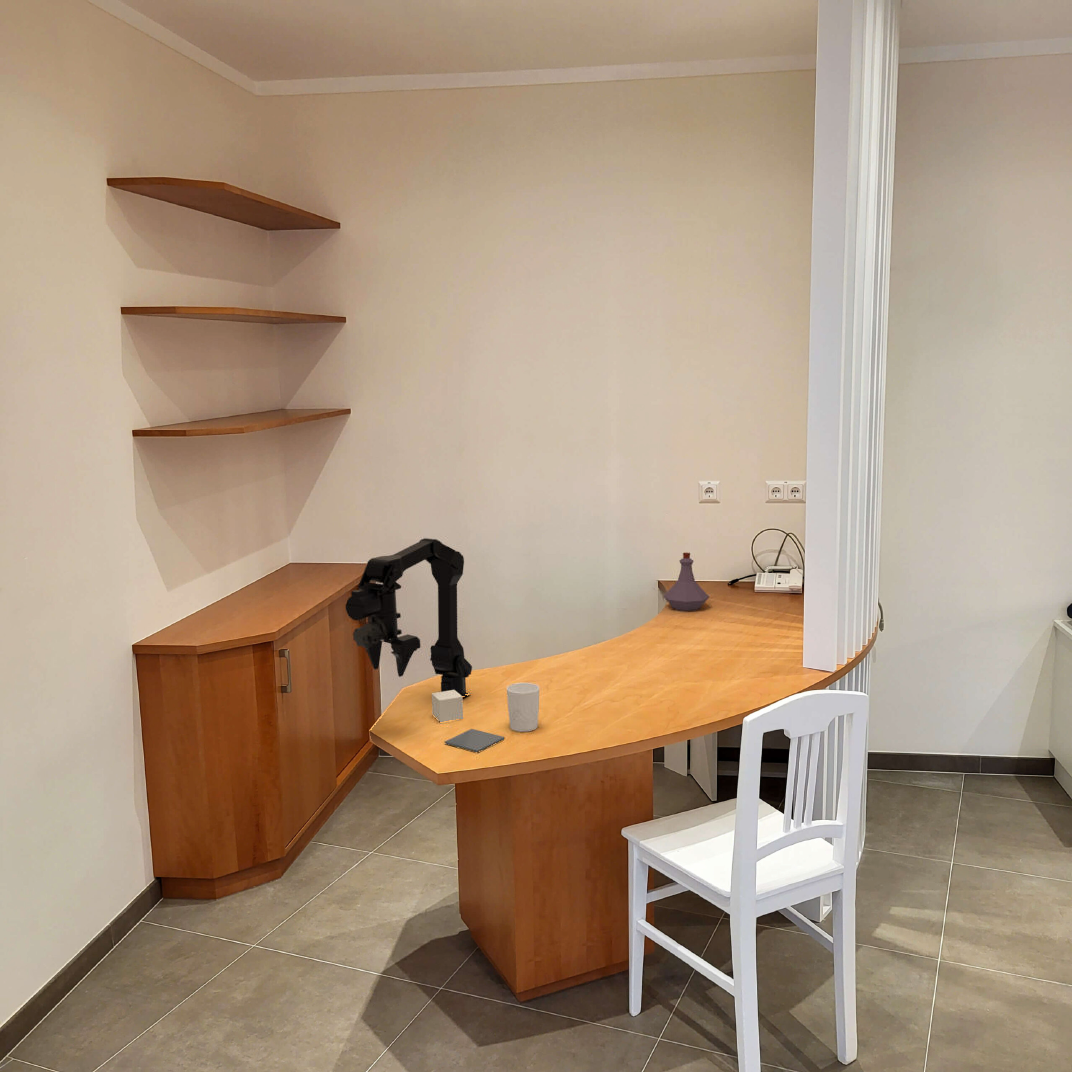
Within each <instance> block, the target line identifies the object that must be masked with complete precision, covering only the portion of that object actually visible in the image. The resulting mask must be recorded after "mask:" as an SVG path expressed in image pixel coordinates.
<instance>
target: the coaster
mask: <svg viewBox="0 0 1072 1072" xmlns="http://www.w3.org/2000/svg"><path fill="white" fill-rule="evenodd" d="M504 739H506V738H505V736H502V735H499V734H494V733H490V732H487V731H482V730H479V729H478V730H477V729H474V728H470V729H468V730H466V731H464V732H462V733H460V734H457V735H455V736H454V737H451V738H449V739H447V740H444V743H446V744H449V745H453V746H456V747H455V748H457V747H459V748H458V749H460V748H464V749H467V750H466V751H468V750H471V751H470V752H472V751H474V752H473V753H475V752H477V753H476V754H479V753H480V752H479V751H481V750H483V751H485V750H487V749H488V748H487V747H489V746H491V745H493V744H495V743H497V744H499V743H500V742H499V741H501V740H503V741H504ZM498 742H499V743H498ZM501 742H502V741H501ZM444 743H443V744H444ZM446 744H445V745H446ZM449 745H448V746H449ZM495 745H496V744H495ZM453 746H452V747H453ZM493 746H494V745H493ZM491 747H492V746H491ZM486 748H487V749H486ZM489 748H490V747H489ZM464 749H463V750H464ZM484 749H485V750H484ZM478 752H479V753H478ZM481 752H482V751H481Z"/></svg>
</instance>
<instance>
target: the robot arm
mask: <svg viewBox="0 0 1072 1072" xmlns="http://www.w3.org/2000/svg"><path fill="white" fill-rule="evenodd" d="M424 561H426V563H428V564H429V565H430V569H431V571H430V572H431V574H432V576H433V577H432V578H433V579H434V580H435V582H436V584H437V619H438V621H437V623H438V625H437V626H438V628H437V629H438V631H437V635H438V637H437V640H436V641H435V643H434V645H431V646H430V650H429V651H430V659H429V660H430V662H431V665H432V668H433V670H434V672H435V675H441V676H440V679H441V680H440V681H441V682H440V692H444V691H450V690H455V691H456V692H457V693H459V694H460V695H461V696H467V695H465V694H468V693H469V692H468V693H466V692H467V685H466V684H467V683H466V678H469V676H470V675H472V670H473V666H472V665H471V664H470V662H469V661H468V660H467V659H466V658H465V651H464V647H463V645H462V643H461V641H460V640H459V638H458V583H459V581H460V579H461V578H462V576H463V574H464V565H465V557H464V555H463V554H462V553H461V552H460V551H457V550H456V549H453V548H452V547H449V546H447V545H446V544H443V542H442V541H440V540H439V539H435V538H428V537H427V538H426V537H425V538H421V539H420V540H419V541H418V542H416V543H414V544H412V545H410V546H408V547H406V548H403V549H402V550H400V551H398V552H396V553H394V554H391V555H383V556H382V555H381V556H376V557H372V558H370V559H369V560H368V561H367V562H366V563H367V564H366V565H365V567H364V570H363V573H362V575H361V578H360V580H359V582H358V586H357V589H358V590H352V591H351V592H350V593H351V596H350V597H348V599H347V601H346V603H345V611H346V613H347V615H348V617H349V618H350V619H351V620H352V621H353V620H354V621H360V620H364V619H366V618H368V619H367V620H368V622H367V623H366V624H363V625H362V626H361V627H360V626H359V627H357V628H355V629H354V630H353V632H352V636H353V641H354V642H355V644H356V646H357V647H362V648H364V649H365V651H366V653H367V656H368V658H369V660H370V662H371V665H372V668H373V670H374V671H375V670H377V669H379V666H380V663H381V662H380V660H381V655H382V654H381V653H382V645H383V643H386V644H390V648H391V650H392V651H390V653H391V654H392V655H393V656H394V657H395V662H396V671H397V676H398V677H399V678H401V677H403V676H404V674H405V672H406V670H407V668H408V665H409V662H410V660H411V659H412V656H413V654H414V652H416V651H418V649H420V648H421V639H420V638H419V637H418V636H417V635H412V634H405V635H402V634H403V631H402V629H400V628H399V626H398V619H400V618H401V617H402V616H401V612H397V611H398V610H397V592H396V591H397V590H401V588H402V585H401V584H399V583H398V582H397V581H398V580H400V579H401V578H402V577H403V576H404V573H405V571H406V570H408V569H409V568H412V567H413V566H416V565H418V564H419V563H421V562H424ZM400 635H401V636H400ZM467 697H468V696H467Z"/></svg>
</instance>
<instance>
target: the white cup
mask: <svg viewBox="0 0 1072 1072" xmlns="http://www.w3.org/2000/svg"><path fill="white" fill-rule="evenodd" d="M506 695H507V696H506V698H507V709H508V719H509V728H510V729H511V731H515V732H520V733H524V732H532V730H533V731H535V730H536V729H537V728H538V726H539V710H540V686H539V685H538V684H536V683H531V682H517V683H512V684H510V685H508V686H506Z"/></svg>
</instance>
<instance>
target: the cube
mask: <svg viewBox="0 0 1072 1072" xmlns="http://www.w3.org/2000/svg"><path fill="white" fill-rule="evenodd" d="M463 699H464V698H462V696H461V695H460V694H459V693H457V692H456V691H455V690H450V691H444V692H441V691H439V692H438V691H437V692H433V693H431V707H432V713H431V714H432V716H433V715H434V716H435V717H436V718H437V719H438V720H439V721H440V722H444V721H449V720H454V719H455V720H456V719H463V720H464V707H463V705H464V704H463V702H464V701H463Z"/></svg>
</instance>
